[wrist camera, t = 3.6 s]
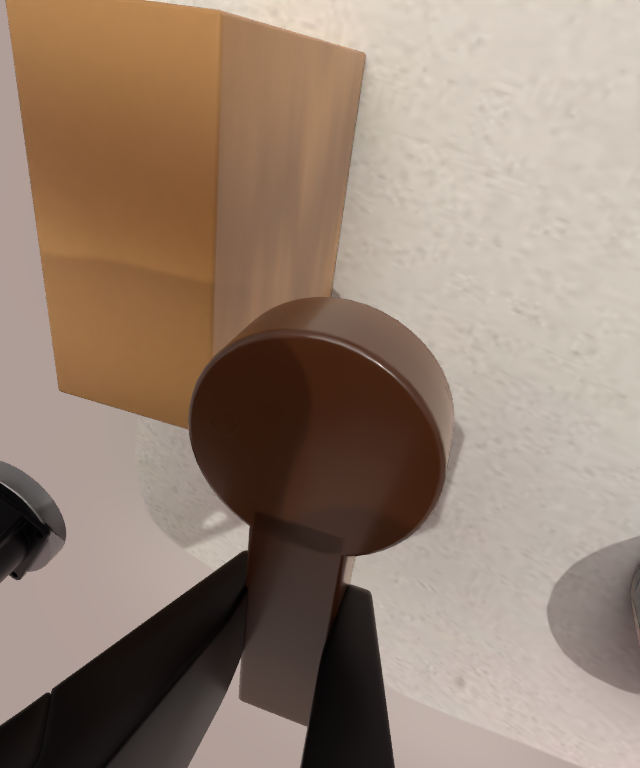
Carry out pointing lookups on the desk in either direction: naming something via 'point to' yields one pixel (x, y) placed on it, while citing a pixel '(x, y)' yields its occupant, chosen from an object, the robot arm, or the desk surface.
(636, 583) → the crock
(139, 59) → the wooden block
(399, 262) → the desk surface
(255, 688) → the brown disc handle
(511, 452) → the desk surface
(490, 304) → the desk surface
